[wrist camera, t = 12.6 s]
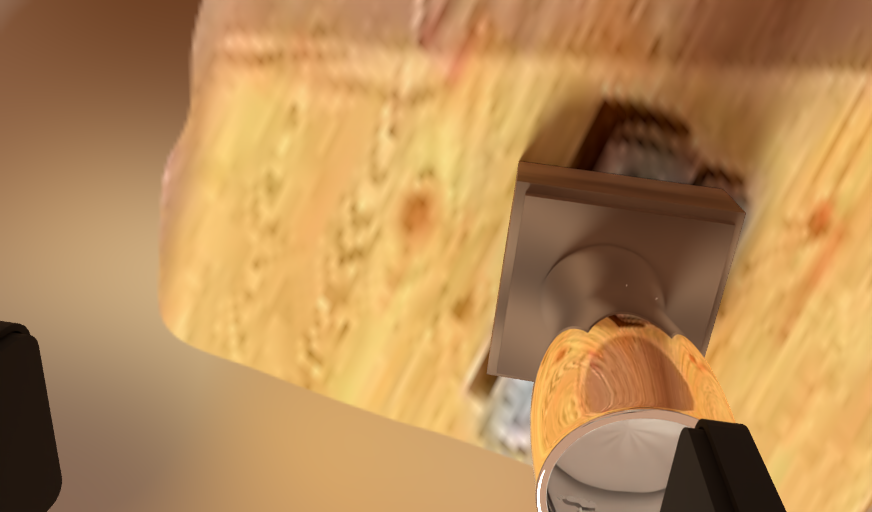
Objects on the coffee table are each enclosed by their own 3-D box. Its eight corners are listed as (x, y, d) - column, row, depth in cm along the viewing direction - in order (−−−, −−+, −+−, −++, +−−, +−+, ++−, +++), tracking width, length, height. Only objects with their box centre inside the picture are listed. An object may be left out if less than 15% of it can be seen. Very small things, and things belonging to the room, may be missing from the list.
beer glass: (657, 370, 36) (734, 607, 22) (523, 351, 37) (515, 570, 23) (686, 244, 33) (793, 423, 19) (541, 227, 34) (545, 388, 20)
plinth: (519, 161, 38) (516, 184, 33) (722, 189, 37) (749, 216, 32) (491, 337, 42) (486, 379, 37) (674, 366, 41) (692, 413, 36)
